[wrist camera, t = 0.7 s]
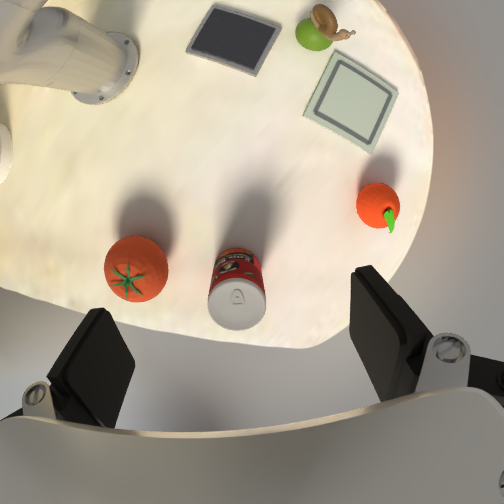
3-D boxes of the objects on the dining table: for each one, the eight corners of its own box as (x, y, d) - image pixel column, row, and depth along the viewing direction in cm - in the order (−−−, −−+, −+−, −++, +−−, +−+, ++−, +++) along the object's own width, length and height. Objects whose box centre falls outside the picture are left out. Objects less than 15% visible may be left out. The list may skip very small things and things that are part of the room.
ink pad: (186, 53, 32) (184, 50, 30) (212, 7, 29) (211, 3, 27) (255, 77, 34) (256, 74, 32) (280, 30, 31) (282, 27, 29)
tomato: (182, 276, 46) (170, 311, 36) (131, 288, 46) (111, 321, 37) (162, 220, 42) (141, 243, 32) (108, 236, 42) (81, 261, 33)
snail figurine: (308, 65, 33) (334, 41, 22) (285, 32, 31) (301, -2, 20) (337, 53, 32) (370, 28, 21) (314, 21, 30) (339, -12, 19)
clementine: (392, 215, 43) (414, 229, 36) (359, 232, 44) (377, 249, 37) (379, 172, 40) (401, 180, 33) (343, 189, 41) (361, 200, 34)
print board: (302, 116, 36) (304, 115, 35) (333, 53, 32) (335, 51, 31) (369, 153, 39) (372, 154, 38) (396, 93, 35) (399, 92, 34)
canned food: (253, 240, 44) (257, 273, 34) (266, 283, 47) (273, 323, 37) (206, 253, 44) (197, 289, 34) (222, 295, 47) (219, 336, 37)
